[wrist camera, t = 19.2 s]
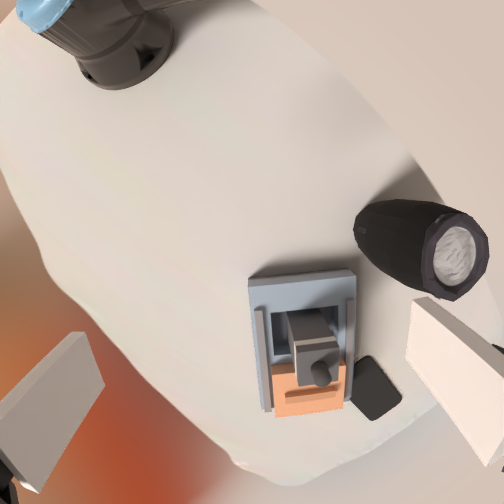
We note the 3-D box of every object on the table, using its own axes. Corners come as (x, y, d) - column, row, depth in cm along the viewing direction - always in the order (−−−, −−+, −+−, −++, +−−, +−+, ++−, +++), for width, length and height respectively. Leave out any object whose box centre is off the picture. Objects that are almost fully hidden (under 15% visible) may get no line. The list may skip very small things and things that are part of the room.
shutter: (270, 365, 40) (272, 379, 36) (341, 356, 39) (347, 369, 36) (274, 407, 41) (275, 421, 38) (339, 398, 41) (344, 412, 38)
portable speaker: (412, 215, 40) (504, 235, 20) (384, 271, 41) (461, 323, 22) (368, 185, 39) (452, 184, 20) (337, 244, 40) (402, 287, 21)
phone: (371, 422, 47) (332, 382, 44) (370, 420, 47) (331, 379, 45) (403, 399, 46) (369, 354, 43) (402, 397, 47) (367, 352, 44)
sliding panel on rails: (248, 278, 41) (247, 289, 37) (347, 268, 41) (358, 277, 36) (260, 393, 45) (261, 412, 41) (344, 383, 45) (352, 400, 40)
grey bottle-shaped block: (285, 309, 41) (300, 364, 27) (317, 305, 41) (346, 358, 27) (287, 338, 42) (300, 400, 28) (318, 334, 42) (343, 393, 28)
